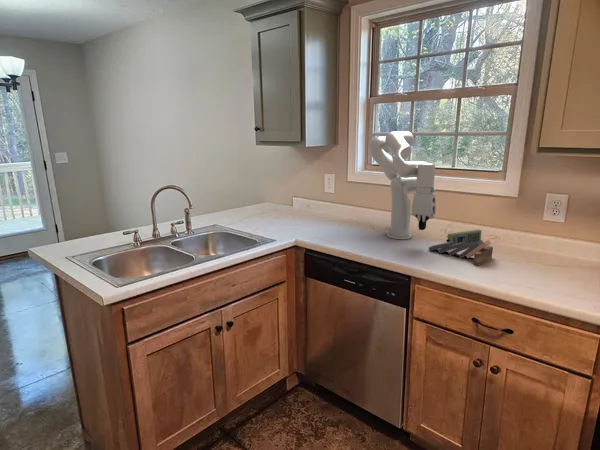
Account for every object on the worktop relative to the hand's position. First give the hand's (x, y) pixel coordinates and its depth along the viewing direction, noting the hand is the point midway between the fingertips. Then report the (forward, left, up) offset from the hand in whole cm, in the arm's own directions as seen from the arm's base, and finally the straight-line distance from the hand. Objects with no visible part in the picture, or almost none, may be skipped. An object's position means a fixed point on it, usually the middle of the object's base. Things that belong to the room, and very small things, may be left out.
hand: (421, 229), depth 182 cm
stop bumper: (+29, 0, -9) cm, 30 cm away
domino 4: (+20, 0, -8) cm, 22 cm away
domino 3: (+15, 0, -8) cm, 17 cm away
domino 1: (+6, 0, -8) cm, 10 cm away
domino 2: (+10, 0, -8) cm, 13 cm away
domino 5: (+23, 0, -7) cm, 24 cm away
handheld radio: (+11, +16, -9) cm, 22 cm away
